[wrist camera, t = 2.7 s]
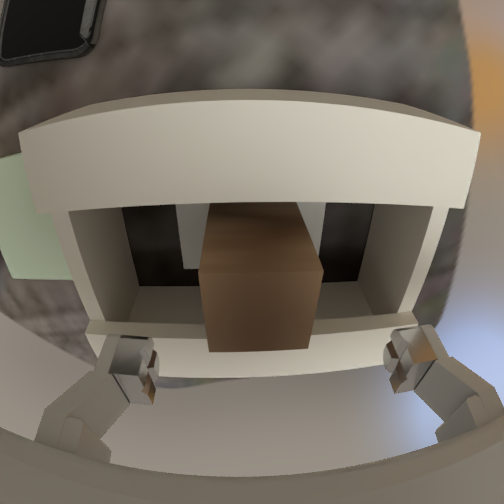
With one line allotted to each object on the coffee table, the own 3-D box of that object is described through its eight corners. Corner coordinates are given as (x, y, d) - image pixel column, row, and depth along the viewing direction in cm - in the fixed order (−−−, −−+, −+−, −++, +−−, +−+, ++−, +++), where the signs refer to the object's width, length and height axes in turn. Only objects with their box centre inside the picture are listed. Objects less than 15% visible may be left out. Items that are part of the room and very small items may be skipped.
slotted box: (130, 296, 22) (105, 371, 16) (91, 104, 14) (18, 132, 8) (365, 290, 22) (398, 361, 17) (403, 104, 15) (480, 132, 9)
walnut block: (216, 254, 18) (208, 352, 12) (212, 189, 15) (198, 273, 10) (285, 253, 18) (308, 348, 12) (290, 188, 16) (323, 270, 10)
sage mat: (15, 274, 20) (12, 278, 20) (-21, 164, 15) (-26, 167, 14) (111, 275, 21) (109, 280, 20) (80, 139, 15) (76, 141, 15)
